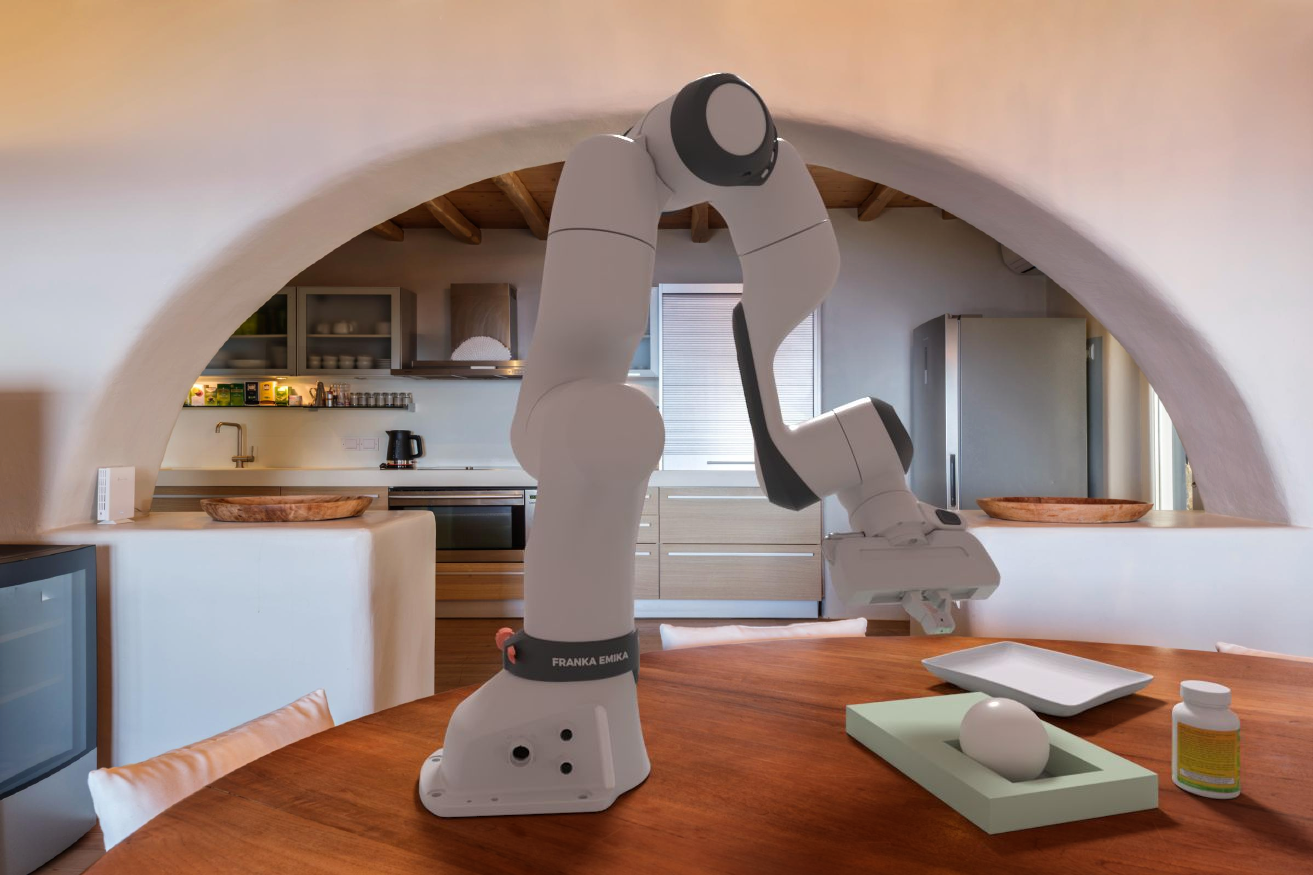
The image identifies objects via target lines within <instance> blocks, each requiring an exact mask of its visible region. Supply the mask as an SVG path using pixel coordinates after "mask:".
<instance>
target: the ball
mask: <svg viewBox="0 0 1313 875" xmlns="http://www.w3.org/2000/svg"><path fill="white" fill-rule="evenodd" d="M1040 720H1041V719H1040V718H1039V717H1038V716H1037V714H1036V713H1035V712H1034V710H1031V709H1029V708H1028V707H1026V706H1025V705H1023V704H1021V703H1019V702H1017V701H1014V700H1011V699H1007V698H989V699H985V700H982V701H980V702H978V703H976V704H975V705H974V706H972V707H971V708H970V709H969V710H968V711H967V713H966V714H965V716H964V717H963V719H962V722H961V725H960V730H959V740H960V746H961V749H962V752H963V754H965V755H966V756H968V757H970V758H971V759H973V760H975V761H976V762H978V763H980V764H981V765H983V766H985V767H986V768H988V769H990V770H991V771H993V772H995V773H996V774H998V775H1000V776H1001V777H1003V778H1005V779H1006V780H1008V781H1010V782H1012V783H1018V782H1025V781H1032V780H1034V779H1035V778H1036V777H1038V776H1039V775H1040V774H1041V772H1042V771H1043V770H1044V768H1045V766H1046V764H1047V761H1048V758H1049V751H1050V745H1049V738H1048V735H1047V732H1046V729H1045V727H1044V725H1043V724H1042V722H1041V721H1040Z"/></svg>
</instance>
